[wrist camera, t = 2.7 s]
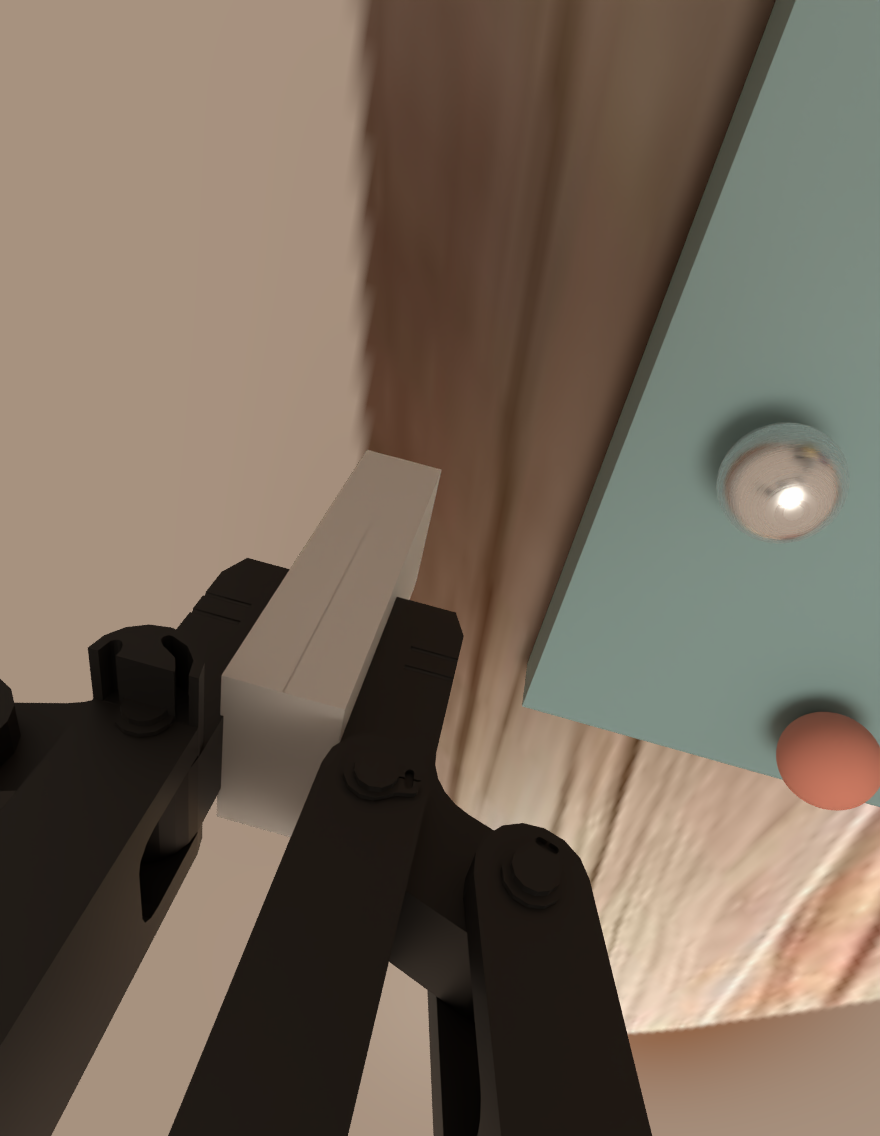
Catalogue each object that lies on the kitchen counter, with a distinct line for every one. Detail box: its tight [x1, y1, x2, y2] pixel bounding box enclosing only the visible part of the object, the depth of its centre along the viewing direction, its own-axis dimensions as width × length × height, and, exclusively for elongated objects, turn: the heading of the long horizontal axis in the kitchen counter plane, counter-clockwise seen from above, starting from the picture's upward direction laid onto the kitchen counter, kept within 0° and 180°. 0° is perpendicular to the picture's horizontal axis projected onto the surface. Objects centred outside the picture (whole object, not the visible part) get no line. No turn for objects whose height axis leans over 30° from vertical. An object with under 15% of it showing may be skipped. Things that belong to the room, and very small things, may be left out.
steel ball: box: [716, 422, 850, 543], centre depth 19 cm, size 3×3×3 cm
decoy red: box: [776, 712, 880, 810], centre depth 24 cm, size 3×3×3 cm
